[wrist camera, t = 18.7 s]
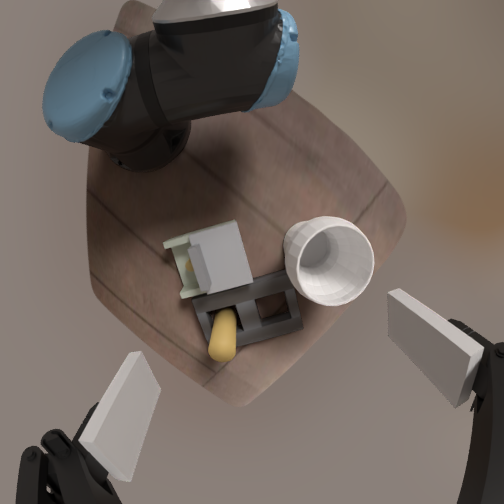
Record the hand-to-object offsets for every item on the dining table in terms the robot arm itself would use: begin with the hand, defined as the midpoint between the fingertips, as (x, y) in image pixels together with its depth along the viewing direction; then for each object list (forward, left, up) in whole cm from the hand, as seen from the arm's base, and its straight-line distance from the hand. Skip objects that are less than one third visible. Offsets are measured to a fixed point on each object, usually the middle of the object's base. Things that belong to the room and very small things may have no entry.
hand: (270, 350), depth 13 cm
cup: (+2, +9, -32) cm, 33 cm away
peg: (+10, -7, -31) cm, 34 cm away
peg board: (+10, -3, -31) cm, 33 cm away
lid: (0, -4, -27) cm, 27 cm away
